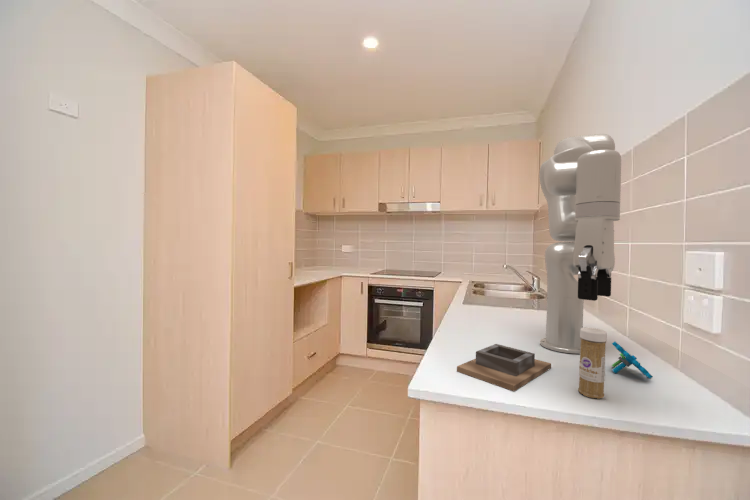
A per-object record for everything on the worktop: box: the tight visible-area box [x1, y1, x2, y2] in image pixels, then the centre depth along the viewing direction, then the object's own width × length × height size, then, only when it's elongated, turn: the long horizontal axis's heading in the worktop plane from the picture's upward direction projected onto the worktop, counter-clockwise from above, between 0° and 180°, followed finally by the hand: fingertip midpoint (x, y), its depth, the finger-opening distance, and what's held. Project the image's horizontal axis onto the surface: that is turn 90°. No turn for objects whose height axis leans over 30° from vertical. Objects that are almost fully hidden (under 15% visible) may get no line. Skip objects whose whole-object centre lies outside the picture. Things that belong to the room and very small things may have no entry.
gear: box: [611, 341, 653, 380], centre depth 79 cm, size 11×6×10 cm
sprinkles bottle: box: [577, 326, 608, 400], centre depth 67 cm, size 5×5×13 cm
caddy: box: [456, 343, 552, 392], centre depth 80 cm, size 20×14×4 cm
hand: (594, 297), depth 67 cm, fingers open, 9 cm apart
